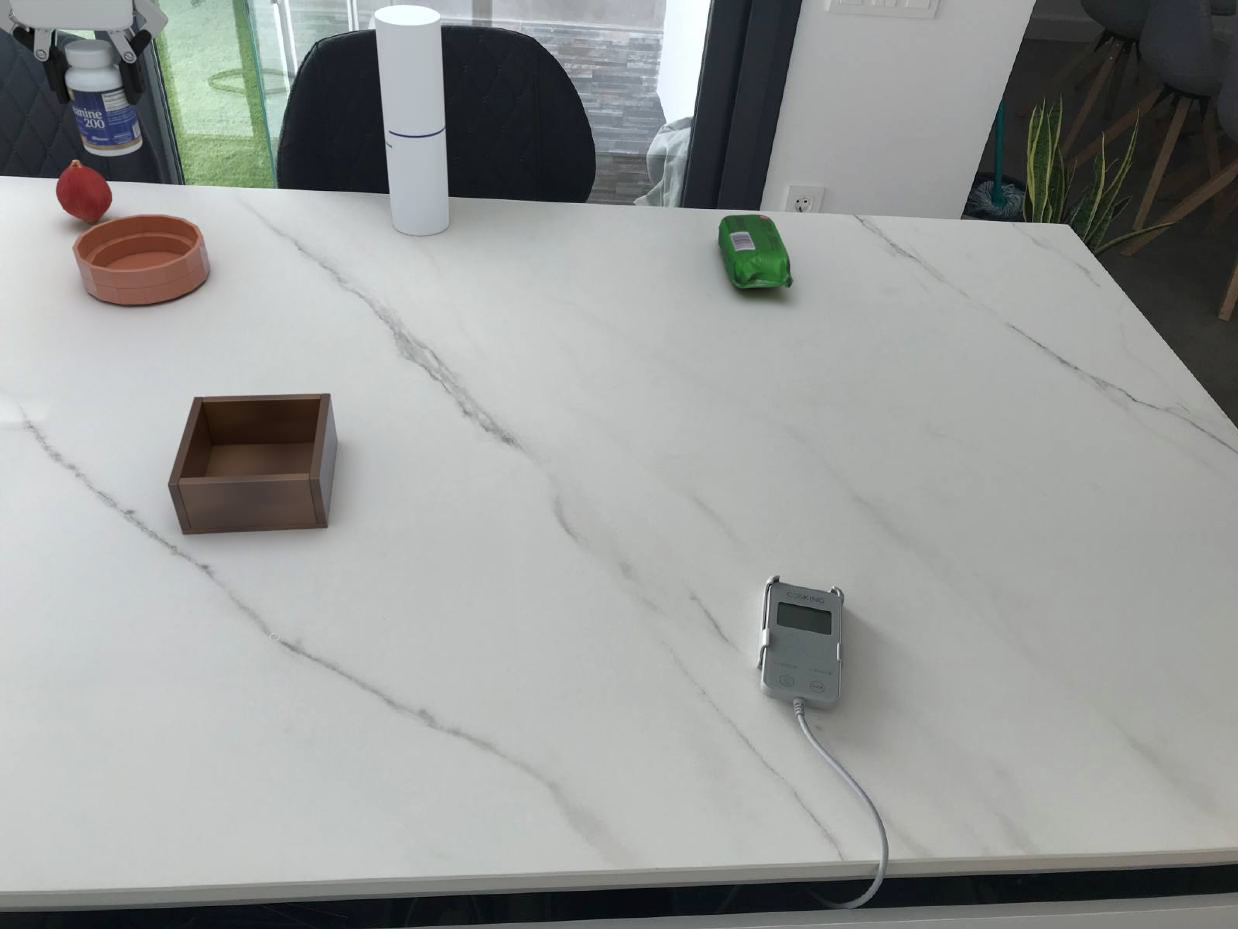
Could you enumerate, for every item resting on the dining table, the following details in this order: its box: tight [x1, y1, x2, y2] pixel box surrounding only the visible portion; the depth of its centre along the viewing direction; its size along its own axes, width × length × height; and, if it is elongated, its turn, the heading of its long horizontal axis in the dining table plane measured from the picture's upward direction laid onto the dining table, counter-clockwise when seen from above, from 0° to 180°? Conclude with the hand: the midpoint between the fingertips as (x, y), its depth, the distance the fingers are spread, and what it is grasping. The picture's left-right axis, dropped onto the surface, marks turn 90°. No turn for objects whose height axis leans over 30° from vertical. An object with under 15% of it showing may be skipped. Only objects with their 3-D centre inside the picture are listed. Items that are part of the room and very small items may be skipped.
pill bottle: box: [64, 38, 143, 157], centre depth 94 cm, size 5×5×10 cm
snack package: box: [717, 213, 795, 289], centre depth 119 cm, size 7×16×5 cm, turn 5°
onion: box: [55, 159, 113, 225], centre depth 116 cm, size 6×6×8 cm
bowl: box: [71, 213, 211, 305], centre depth 109 cm, size 13×13×4 cm
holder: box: [167, 392, 338, 535], centre depth 84 cm, size 12×12×6 cm
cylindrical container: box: [373, 4, 450, 237], centre depth 116 cm, size 7×7×25 cm
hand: (101, 97), depth 94 cm, fingers closed on pill bottle, 5 cm apart
